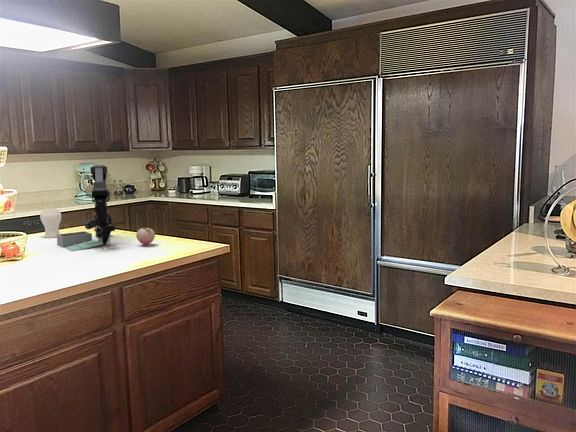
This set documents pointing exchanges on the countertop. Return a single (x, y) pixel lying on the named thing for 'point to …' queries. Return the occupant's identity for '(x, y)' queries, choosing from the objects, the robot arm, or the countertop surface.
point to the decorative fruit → (145, 235)
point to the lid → (87, 244)
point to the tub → (73, 238)
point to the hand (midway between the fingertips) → (103, 243)
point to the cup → (51, 222)
